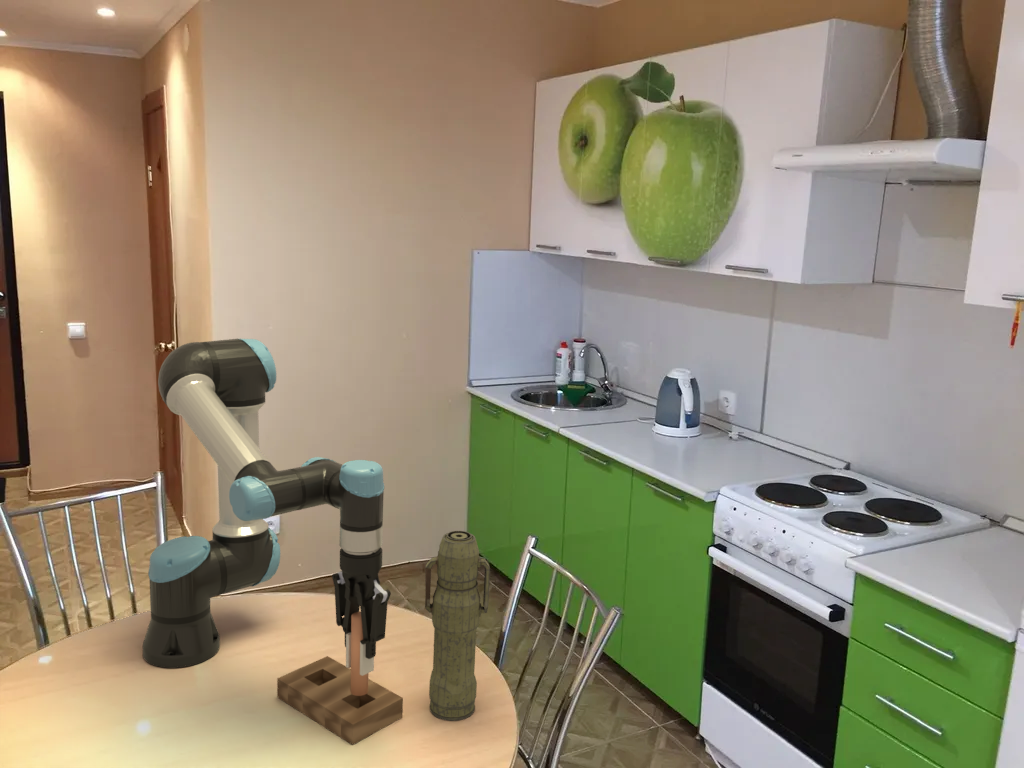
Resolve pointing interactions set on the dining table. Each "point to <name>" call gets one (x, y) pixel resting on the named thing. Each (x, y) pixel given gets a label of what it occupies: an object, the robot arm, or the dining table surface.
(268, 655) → the dining table surface
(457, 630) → the thermos
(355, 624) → the peg
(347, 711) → the hole block
